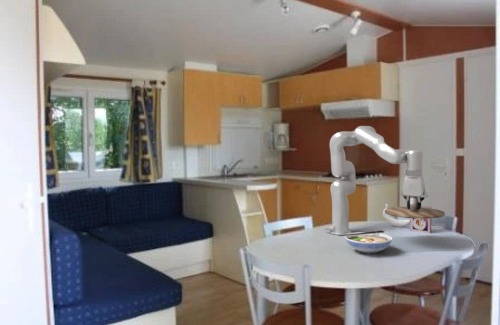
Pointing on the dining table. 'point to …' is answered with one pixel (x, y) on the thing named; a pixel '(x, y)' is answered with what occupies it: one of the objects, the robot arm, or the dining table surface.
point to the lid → (414, 211)
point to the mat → (422, 244)
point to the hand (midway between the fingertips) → (413, 208)
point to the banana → (395, 221)
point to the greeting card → (421, 224)
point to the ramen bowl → (368, 241)
